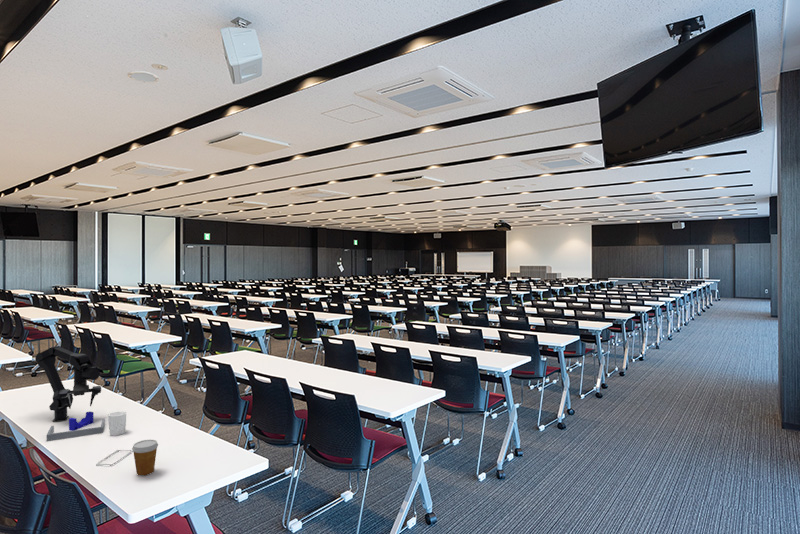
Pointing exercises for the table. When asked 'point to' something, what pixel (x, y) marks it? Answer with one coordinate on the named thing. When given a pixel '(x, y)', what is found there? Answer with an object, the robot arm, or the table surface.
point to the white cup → (117, 422)
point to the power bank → (112, 454)
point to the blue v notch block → (84, 421)
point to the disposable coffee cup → (145, 456)
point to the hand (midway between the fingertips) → (80, 407)
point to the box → (74, 432)
